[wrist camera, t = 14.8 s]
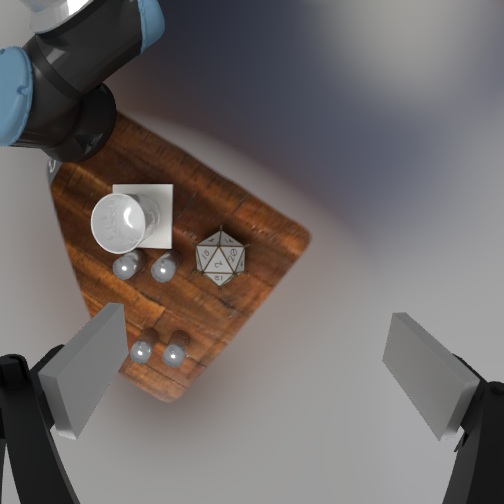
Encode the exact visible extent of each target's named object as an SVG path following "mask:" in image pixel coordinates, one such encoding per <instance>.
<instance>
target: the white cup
mask: <svg viewBox="0 0 504 504" xmlns="http://www.w3.org/2000/svg"><path fill="white" fill-rule="evenodd" d="M159 221H160V211H159V208H158V205H157V204H156V203H155V201H154V200H153V199H152V198H151V197H148V196H145V195H143V194H134V193H112V194H109V195H107V196H105V197H103V198H102V199H101V200H100V201H99V202H98V203H97V204H96V206H95V208H94V210H93V213H92V217H91V228H92V232H93V235H94V237H95V239H96V241H97V242H98V243H99V245H100V246H101V247H103V248H104V249H105V250H107V251H109V252H112V253H117V254H121V253H126V252H129V251H131V250H133V249H134V248H135V247H137V246H138V245H139V244H140V243H142V242H143V241H144V240H145V239H147V238H148V237H149V236H150V235H151V234H152V233H153V232H154V231H155V229H156V228H157V226H158V224H159Z"/></svg>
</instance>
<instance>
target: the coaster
mask: <svg viewBox="0 0 504 504" xmlns="http://www.w3.org/2000/svg"><path fill="white" fill-rule="evenodd" d="M113 193H134V194H143V195H145V196H148V197H151V198H152V199H153V200H154V201H155V203H156V204H157V205H158V208H159V211H160V221H159V224H158V226H157V228H156V229H155V231H154V232H153V233H152V234H151V235H150V236H149V237H148V238H147V239H145V240H144V241H143V242H142V243H140V244H139V245H138V246H137V247H144V248H167V249H171V248H172V225H173V184H120V185H113Z"/></svg>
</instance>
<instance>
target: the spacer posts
mask: <svg viewBox="0 0 504 504" xmlns="http://www.w3.org/2000/svg"><path fill="white" fill-rule="evenodd" d="M146 259H147V258H146V254H145V253H144V252H143V251H142V250H141V249H133V250H131V251H130V252H128V253H127V254H125V255H124V256H122V257H120V258H119V259H117V260H116V261H115V262H114V264H113V272H114V274H115V275H116V276H117V277H118V278H119V279H122V280H126V279H129V278H130V277H131V276H132V275H133V274H134V273H136V272H137V271H138V270H139V269H140V268H141V267H143V266H144V265H145V263H146ZM181 264H182V257H181V255H180V254H179V253H178V252H177V251H174V250H169V251H167V252H166V253H165V254H164V255H163V256H161V257H160V258H159V259H158V260H157V261H156V262H155V263H154V264H153V265H152V268H151V273H152V276H153V277H154V279H155V280H157V281H159V282H167V281H169V280H170V279H171V278H172V276H173V275H174V274H175V272H176V271H177V270H178V268H179V267H180V266H181ZM158 339H159V336H158V333H157V332H156V331H155V330H154V329H152V328H145V329H144V330H143V331H142V333H141V334H140V336H139V337H138V339H137V340H136V342H135V343H134V345H133V347H132V348H131V350H130V357H131V359H132V360H133V361H135V362H136V363H139V364H143V363H146V362H147V361H148V359H149V357H150V355H151V353H152V351H153V349H154V347H155V345H156V343H157V341H158ZM188 343H189V336H188V335H187V333H185V332H184V331H180V330H178V331H175V332H173V334H172V336H171V338H170V340H169V342H168V344H167V347H166V349H165V351H164V353H163V361H164V363H165V364H166V365H168V366H170V367H178V366H180V365H181V364H182V361H183V358H184V355H185V352H186V349H187V346H188Z"/></svg>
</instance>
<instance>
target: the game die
mask: <svg viewBox="0 0 504 504" xmlns="http://www.w3.org/2000/svg"><path fill="white" fill-rule="evenodd" d="M219 229H220V231H218V232H217V233H215V234H213V235H212V236H210V237H208V238H206V239H205V240H203V241H201V242H200V243H198V244H195V243H194V242H190V243H191V244H192V245H193V246H195V248H196V264H197V269H195V270H194V271H193V272H194V273H196V272H197V271H199V272H200V273H199V276H202V275H204V276H205V277H207V278H208V279H209V280H211V281H212V282H213V283H215V284H216V285H217V286H218V291H219V293H220V291H221V289H222V288H221V286H223V285H224V284H226V283H227V282H229V281H230V280H232V279H234V278H235V277H238V275H240V274H242V273H243V272H244V273H245V274H249V273H248V271H245V270H244V268H245V248H247V247H249V245H250V244H245V246H244V245H243V244H241V243H240V242H238V241H237V240H235V239H234V238H232V237H231V236H229V235H228V234H227V233H225V232H224V231H222V230H223V226H222V224H221V225H220V228H219Z"/></svg>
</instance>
